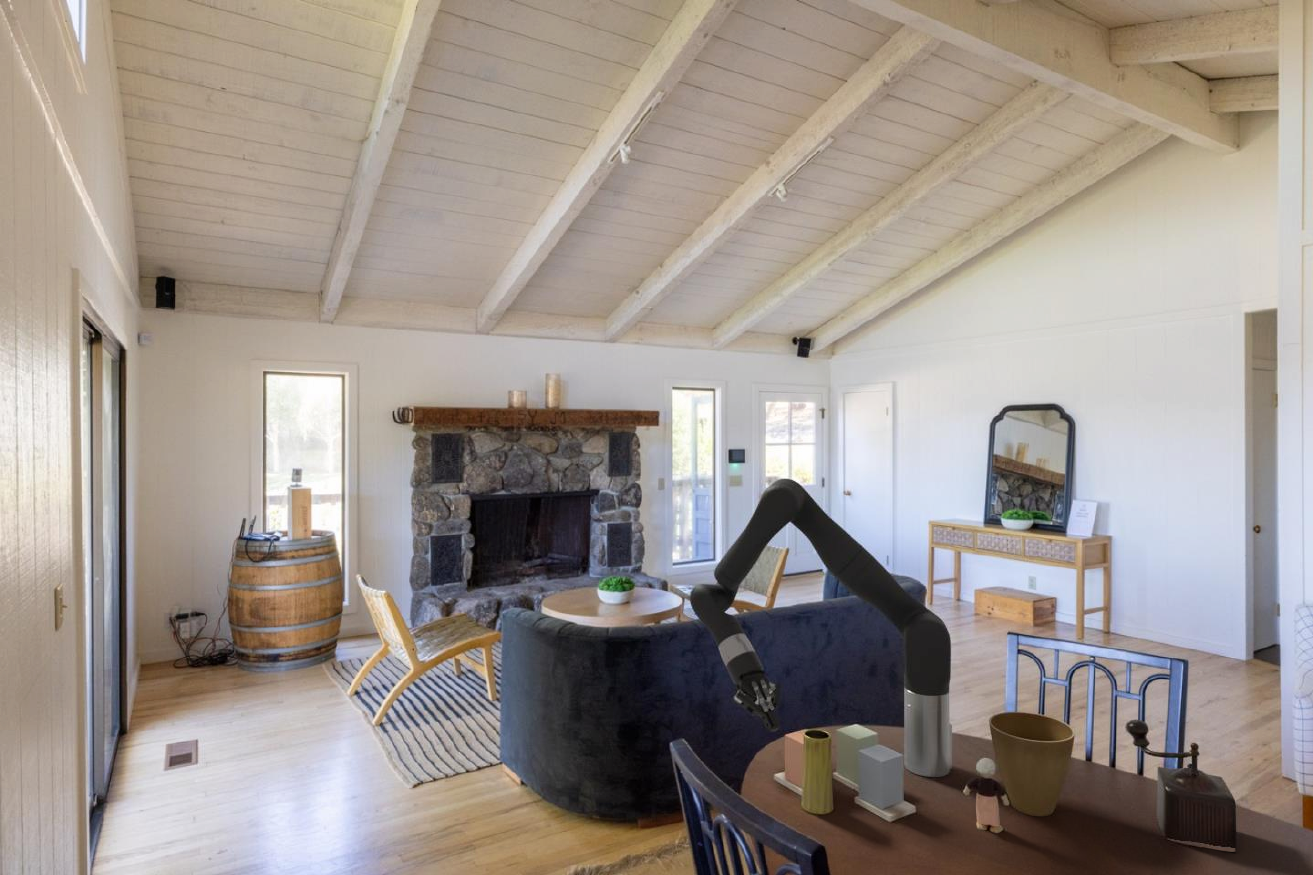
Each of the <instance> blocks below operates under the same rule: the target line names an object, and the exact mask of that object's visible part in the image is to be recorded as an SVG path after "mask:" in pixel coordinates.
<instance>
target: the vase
mask: <svg viewBox="0 0 1313 875" xmlns="http://www.w3.org/2000/svg"><path fill="white" fill-rule="evenodd" d="M833 794H834V793H833V772H832V734H831V733H830V732H828V731H826V730H824V729H819V728H818V729H817V728H810V729H808V730H806V731H805V732H804V751H803V783H802V796H801V804H800V805H801V808H802V809H803V810H804V811H805V812H807V813H810V814H813V815H820V816H821V815H828V814H831V812H833V811H834V800H833V799H834V798H833Z"/></svg>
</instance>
